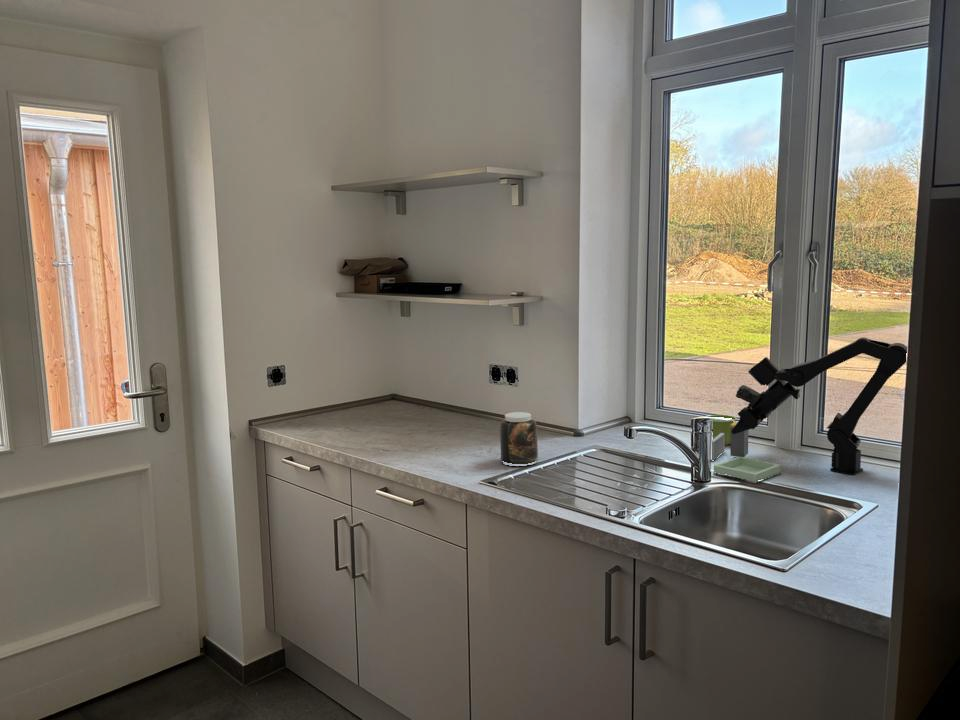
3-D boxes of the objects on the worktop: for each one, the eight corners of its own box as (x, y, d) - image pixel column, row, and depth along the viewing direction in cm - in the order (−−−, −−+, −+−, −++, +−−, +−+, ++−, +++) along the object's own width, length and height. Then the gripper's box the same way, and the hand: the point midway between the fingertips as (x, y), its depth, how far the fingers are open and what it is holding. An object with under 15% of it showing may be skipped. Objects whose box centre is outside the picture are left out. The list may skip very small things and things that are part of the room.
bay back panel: (724, 451, 233) (724, 433, 233) (713, 461, 223) (713, 441, 223) (720, 451, 234) (720, 432, 233) (709, 460, 224) (709, 441, 223)
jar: (492, 463, 231) (491, 415, 229) (517, 455, 239) (515, 409, 237) (522, 469, 223) (520, 420, 221) (546, 460, 231) (544, 413, 229)
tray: (780, 473, 209) (781, 464, 209) (755, 483, 201) (755, 474, 201) (739, 464, 219) (739, 456, 219) (713, 473, 211) (713, 465, 211)
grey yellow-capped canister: (748, 453, 226) (748, 422, 225) (744, 457, 222) (744, 426, 221) (734, 451, 228) (734, 421, 227) (730, 455, 224) (730, 424, 223)
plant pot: (738, 447, 238) (738, 421, 237) (707, 447, 240) (707, 420, 239) (734, 440, 247) (734, 414, 246) (704, 440, 249) (705, 414, 248)
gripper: (760, 372, 227) (723, 405, 235) (745, 382, 212) (706, 417, 219) (787, 399, 224) (749, 432, 232) (774, 411, 209) (734, 445, 216)
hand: (734, 430), depth 225 cm, fingers closed on grey yellow-capped canister, 5 cm apart
